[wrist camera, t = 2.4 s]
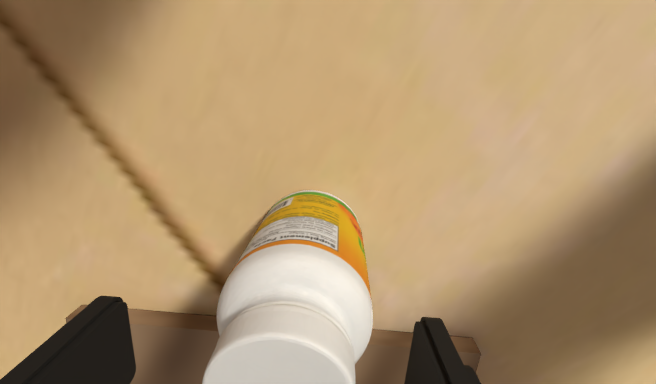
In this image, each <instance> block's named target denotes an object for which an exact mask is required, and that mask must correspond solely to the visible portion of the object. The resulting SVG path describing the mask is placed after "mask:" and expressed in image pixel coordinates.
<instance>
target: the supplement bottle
mask: <svg viewBox="0 0 656 384" xmlns="http://www.w3.org/2000/svg"><path fill="white" fill-rule="evenodd" d="M217 327H218V331H219V335H220V337H219V339H218V342H217V345H216V347H215V350H214V352H213V354H212V356H211V358H210V360H209V362H208V365H207V367H206V369H205V372H204V376H203V381H202V384H355V364H356V363H357V361H358V360H359V359H360V357H361V356H362V355H363V353H364V351H365V349H366V347H367V345H368V343H369V340H370V337H371V333H372V327H373V311H372V301H371V294H370V287H369V280H368V273H367V265H366V258H365V252H364V245H363V238H362V232H361V228H360V224H359V222H358V219H357V217H356V215H355V214H354V212H353V211H352V209H351V208H350V207H349V206H348V205H347V204H346V203H345V202H344V201H342V200H341V199H339V198H338V197H336V196H334V195H332V194H329V193H326V192H323V191H317V190H304V191H298V192H295V193H292V194H289V195H287V196H285V197H284V198H282V199H281V200H279V201H278V202H277V203H276V204H275V205H274V206H273V207H272V208H271V209H270V211H269V212H268V213H267V215H266V216H265V218H264V219H263V221H262V223H261V224H260V226H259V228H258V229H257V231H256V233H255V234H254V236H253V237H252V239H251V241H250V242H249V244H248V246H247V247H246V249H245V251H244V252H243V254H242V255H241V257H240V259H239V260H238V262H237V263H236V265H235V267H234V268H233V270H232V271H231V273H230V275H229V277H228V278H227V280H226V282H225V284H224V287H223V289H222V291H221V294H220V297H219V301H218V306H217Z"/></svg>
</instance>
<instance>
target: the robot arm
mask: <svg viewBox="0 0 656 384" xmlns="http://www.w3.org/2000/svg"><path fill="white" fill-rule="evenodd" d="M135 372H136V363H135V356H134V349H133V342H132V335H131V328H130V321H129V315H128V308H127V304H126V303H125V302H123V300H122V299H121V298H120V297H111V296H99V297H98V298H96V299H95V300H94V301H92V302H91V303H90V304H89V305H88V306H87V307H85V308H84V309H83V310H82V311H81V312H80V313H78V314H77V315H76V316H75V317H74V318H72V319H71V320H70V321H69V322H68V323H67V324H65V325H64V326H63V327H62V328H61V329H59V330H58V331H57V332H56V333H55V334H54V335H52V336H51V337H50V338H49V339H48V340H47V341H45V342H44V343H43V344H42V345H41V346H39V347H38V348H37V349H36V350H35V351H34V352H32V353H31V354H30V355H29V356H28V357H27V358H25V359H24V360H23V361H22V362H21V363H19V364H18V365H17V366H16V367H15V368H14V369H12V370H11V371H10V372H9V373H8V374H6V375H5V376H4V377H3V378H2V379H1V380H0V384H130V383H131V381H132V380H133V378H134V376H135ZM404 384H481V383H480V381H479V379H478V377H477V375H476V373H475V371H474V370H473V368H472V367H471V366H469V365H464V364H463V362H462V360H461V358H460V356H459V354H458V352H457V350H456V348H455V346H454V344H453V342H452V340H451V338H450V336H449V334H448V331H447V329H446V327H445V325H444V323H443V321H442V320H441V319H440V318H428V317H422V318H421V321H420V322H416V323H415V326H414V332H413V338H412V343H411V349H410V354H409V360H408V366H407V371H406V377H405V382H404Z"/></svg>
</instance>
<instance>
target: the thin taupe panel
mask: <svg viewBox="0 0 656 384" xmlns="http://www.w3.org/2000/svg"><path fill="white" fill-rule="evenodd" d="M87 306H88V305H81V306H80V307H79V308H77V309H76V310H75V311H74V312H73V313H71V314H70V315H69V316H68V317H66V323H68V322H69V321H70V320H71V319H72V318H74V317H75V316H76V315H77V314H78V313H80V312H81V311H82V310H83V309H84V308H85V307H87ZM128 315H129V321H130V328H131V335H132V342H133V349H134V356H135V363H136V372H135V376H134V378H133V380H132V381H131V383H130V384H202V381H203V376H204V372H205V369H206V367H207V365H208V362H209V360H210V358H211V356H212V354H213V352H214V350H215V347H216V345H217V342H218V339H219V337H220V335H219V331H218V327H217V316H208V315H196V314H184V313H172V312H160V311H149V310H137V309H128ZM412 338H413V333H409V332H398V331H386V330H374V329H372V333H371V337H370V340H369V343H368V345H367V347H366V349H365V351H364V353H363V355H362V356H361V357H360V359H359V360H358V361H357V363H356V364H355V384H404V382H405V377H406V371H407V366H408V360H409V354H410V349H411V343H412ZM450 338H451V340H452V342H453V344H454V346H455V348H456V350H457V352H458V354H459V356H460V358H461V360H462V362H463V364H464V365H469V366H471V367H472V368H473V370H474V371H475V373H476V370H477V366H478V363H479V359H480V355H481V353H480V351H479V349H478V347H477V345H476V344H475V342H474V340H473V338H469V337H457V336H450Z"/></svg>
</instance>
